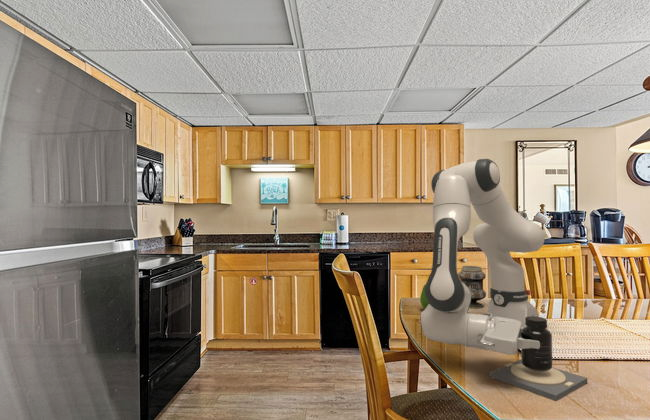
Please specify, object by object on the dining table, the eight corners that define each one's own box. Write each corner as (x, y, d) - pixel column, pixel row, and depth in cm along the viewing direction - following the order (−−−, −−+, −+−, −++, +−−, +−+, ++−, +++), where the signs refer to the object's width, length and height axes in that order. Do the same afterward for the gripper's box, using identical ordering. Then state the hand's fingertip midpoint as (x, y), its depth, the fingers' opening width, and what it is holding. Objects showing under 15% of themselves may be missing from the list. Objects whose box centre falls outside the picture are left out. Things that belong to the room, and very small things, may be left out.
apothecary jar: (490, 305, 177) (489, 266, 177) (480, 310, 168) (479, 269, 168) (464, 301, 185) (464, 264, 185) (453, 306, 176) (453, 266, 177)
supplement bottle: (515, 361, 100) (515, 315, 100) (541, 360, 100) (540, 314, 101) (532, 372, 93) (531, 322, 93) (559, 371, 94) (558, 321, 94)
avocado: (416, 311, 168) (416, 283, 168) (426, 308, 173) (426, 281, 174) (433, 314, 162) (432, 285, 162) (442, 311, 167) (442, 283, 168)
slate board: (523, 362, 108) (522, 356, 108) (587, 382, 94) (587, 375, 94) (489, 376, 99) (489, 369, 99) (555, 400, 85) (555, 392, 85)
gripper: (474, 329, 94) (539, 338, 87) (486, 311, 112) (541, 318, 105) (474, 355, 94) (539, 366, 87) (487, 333, 112) (541, 341, 105)
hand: (540, 339), depth 96 cm, fingers closed on supplement bottle, 7 cm apart
